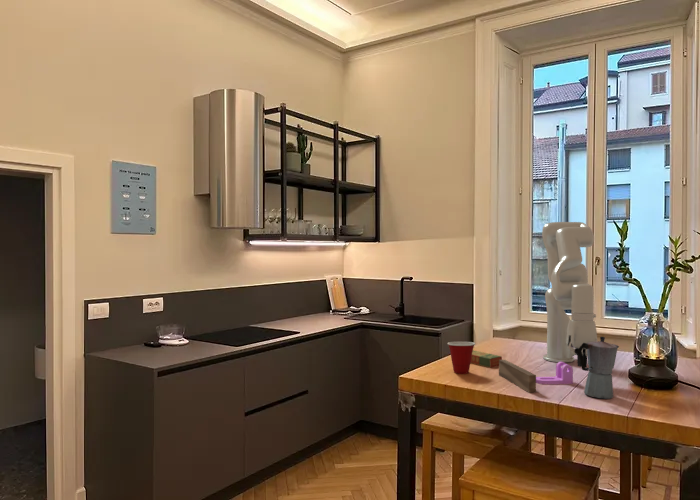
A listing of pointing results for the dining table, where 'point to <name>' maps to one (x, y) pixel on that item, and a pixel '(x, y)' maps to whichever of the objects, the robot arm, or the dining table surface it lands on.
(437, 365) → the dining table surface
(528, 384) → the walnut board
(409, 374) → the dining table surface
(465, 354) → the plastic cup
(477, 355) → the carton
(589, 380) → the moka pot
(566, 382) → the bracket
